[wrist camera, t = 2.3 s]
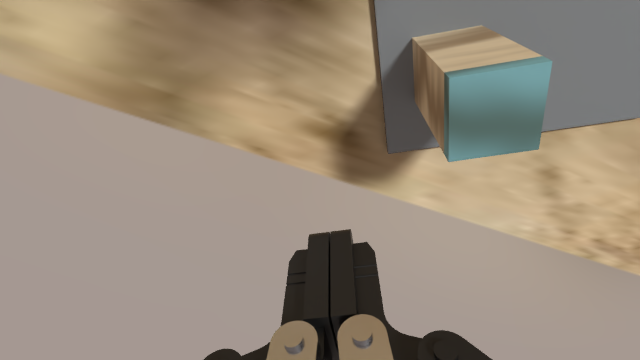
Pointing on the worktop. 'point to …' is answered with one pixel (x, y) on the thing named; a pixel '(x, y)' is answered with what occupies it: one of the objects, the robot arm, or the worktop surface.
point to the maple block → (480, 92)
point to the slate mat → (531, 32)
